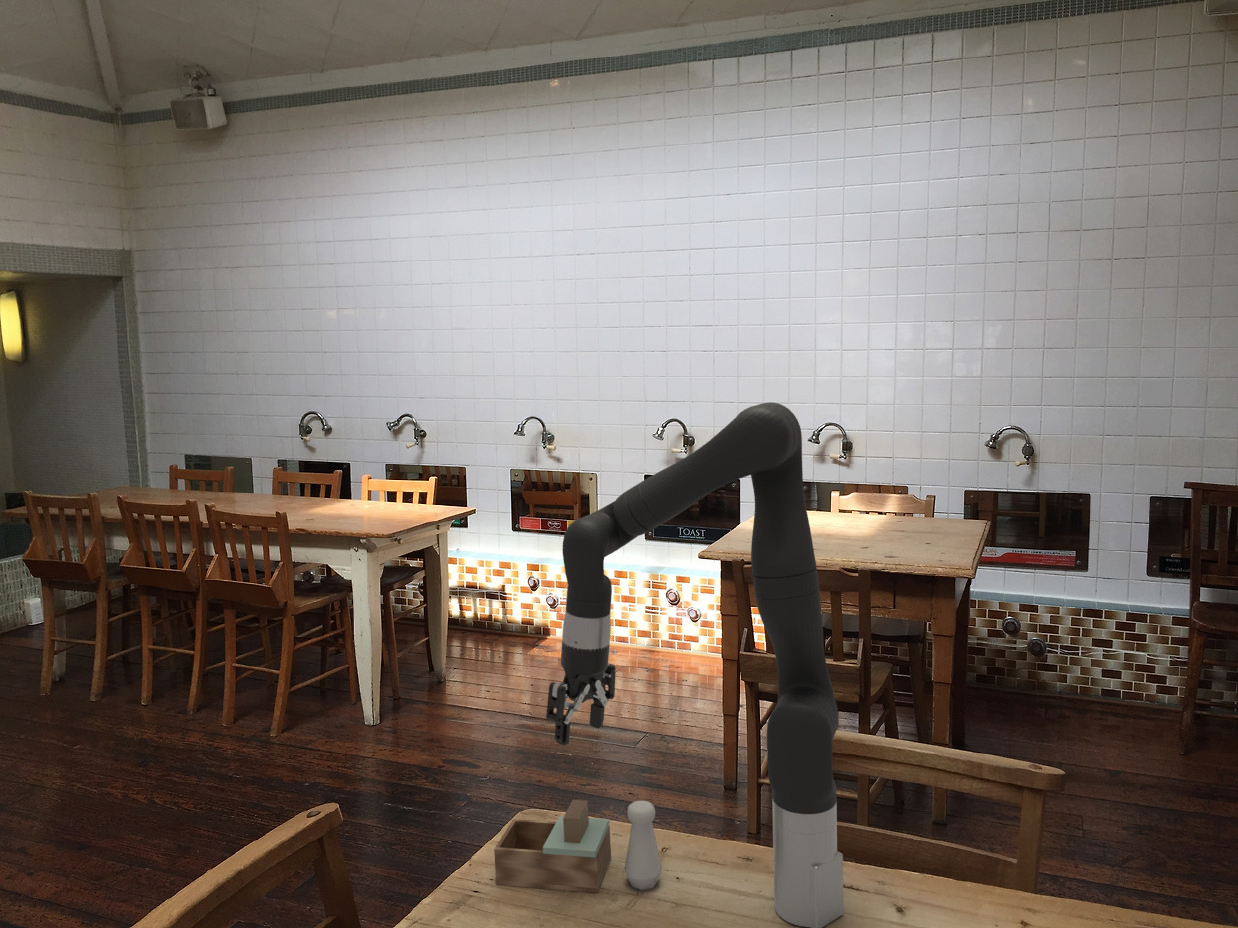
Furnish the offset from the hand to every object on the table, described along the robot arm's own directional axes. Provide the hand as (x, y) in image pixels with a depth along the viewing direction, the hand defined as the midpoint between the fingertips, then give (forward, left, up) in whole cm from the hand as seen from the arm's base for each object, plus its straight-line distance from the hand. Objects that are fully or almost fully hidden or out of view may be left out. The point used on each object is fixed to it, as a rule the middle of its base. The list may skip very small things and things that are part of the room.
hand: (579, 734), depth 150 cm
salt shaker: (-10, -4, -23) cm, 25 cm away
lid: (-1, +2, -16) cm, 17 cm away
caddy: (+2, +5, -22) cm, 23 cm away
